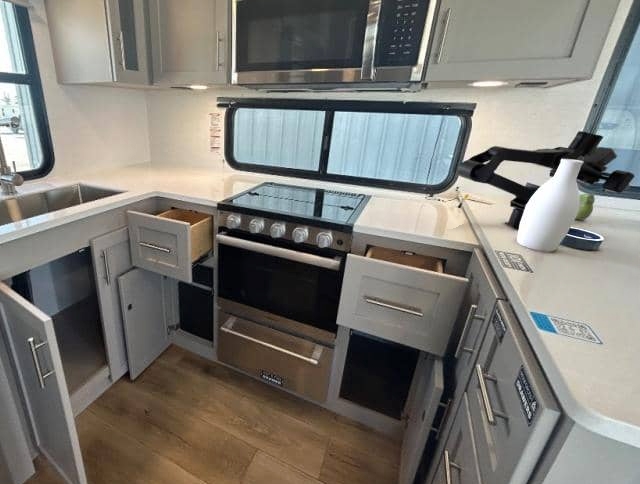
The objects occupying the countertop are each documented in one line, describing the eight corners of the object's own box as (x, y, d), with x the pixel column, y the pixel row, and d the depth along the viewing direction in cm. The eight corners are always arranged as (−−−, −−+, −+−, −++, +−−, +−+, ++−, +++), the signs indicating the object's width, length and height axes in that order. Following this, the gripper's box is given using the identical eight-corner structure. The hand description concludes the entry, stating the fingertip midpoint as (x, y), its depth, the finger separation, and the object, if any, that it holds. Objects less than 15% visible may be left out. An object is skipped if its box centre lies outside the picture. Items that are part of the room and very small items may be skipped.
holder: (565, 248, 98) (571, 237, 96) (540, 234, 108) (545, 224, 106) (608, 253, 96) (614, 242, 95) (579, 238, 106) (584, 228, 105)
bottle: (508, 235, 106) (540, 155, 96) (553, 243, 101) (591, 160, 91) (516, 247, 96) (552, 160, 86) (565, 257, 92) (609, 166, 82)
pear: (590, 222, 122) (603, 196, 119) (575, 220, 123) (587, 195, 119) (579, 217, 128) (591, 192, 124) (564, 216, 128) (575, 191, 124)
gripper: (627, 149, 94) (667, 166, 97) (566, 140, 111) (601, 156, 114) (599, 185, 98) (638, 201, 101) (544, 171, 115) (578, 185, 118)
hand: (613, 184), depth 108 cm, fingers open, 9 cm apart
